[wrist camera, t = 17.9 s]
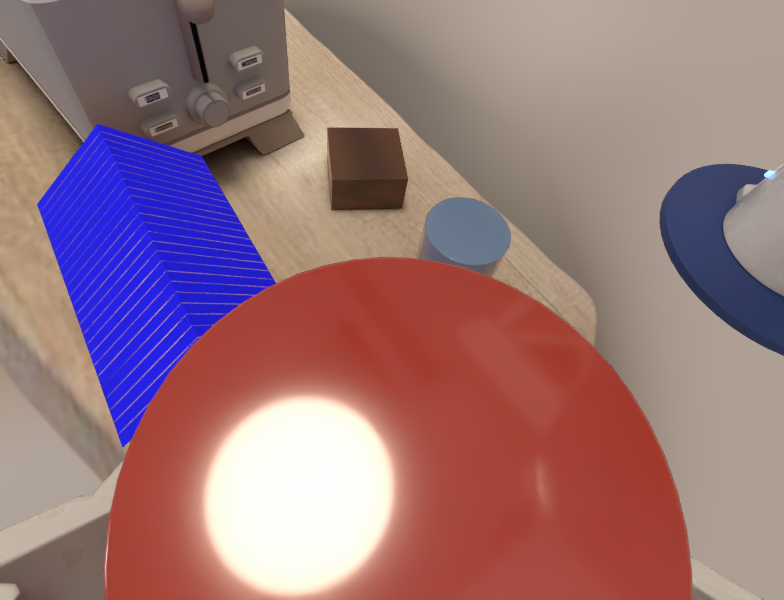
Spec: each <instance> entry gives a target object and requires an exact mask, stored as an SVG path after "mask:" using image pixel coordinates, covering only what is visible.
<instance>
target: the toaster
mask: <svg viewBox="0 0 784 600" xmlns="http://www.w3.org/2000/svg"><path fill="white" fill-rule="evenodd" d="M0 55H1V56H2V57H3V58H4V60H5V61H6V62H7V63H10V62H13V61H18V62H19V63H20V65H21V66H22V67H23V68H24V69H25V71H26V72H27V73H28V74H29V76H30V77H31V78H32V79H33V80H34V82H35V83H36V84H37V85H38V87H39V88H40V89H41V90H42V92H43V93H44V94H45V95H46V96H47V98H48V99H49V100H50V101H51V103H52V104H53V105H54V106H55V108H56V109H57V110H58V111H59V112H60V114H61V115H62V116H63V117H64V119H65V120H66V121H67V122H68V123H69V125H70V126H71V127H72V128H73V130H74V131H75V132H76V133H77V135H78V136H79V137H80V138H81V139H82V141H83V142H84V141H85V140H86V139H87V137H88V136H89V135H90V133H91V132H92V131H93V129H94V128H95V127H96V125H97V124H100V125H103V126H106V127H109V128H113V129H116V130H119V131H122V132H126V133H129V134H132V135H135V136H139V137H142V138H145V139H148V140H152V141H155V142H158V143H161V144H165V145H168V146H171V147H174V148H178V149H181V150H184V151H187V152H191V153H194V154H197V155H200V156H203V155H205V154H208V153H210V152H212V151H215V150H217V149H219V148H221V147H224V146H226V145H228V144H230V143H233V142H235V141H237V140H240V139H242V138H244V137H245V138H246V139H247V140H248V141H249V142H250V143H251V144H252V145H253V146H254V147H255V148H256V149H257V150H258V151H259V152H260V153H261V154H262V155H265V154H268V153H270V152H272V151H274V150H276V149H278V148H280V147H282V146H285V145H287V144H289V143H291V142H293V141H295V140H297V139H299V138H302V137H304V134H303V133H302V131H301V129H300V128H299V126H298V124H297V122H296V121H295V119H294V117H293V116H292V112H291V111H290V110H289V109H288V108H289V107H290V101H291V99H290V90H289V88H290V85H289V71H288V57H287V43H286V29H285V15H284V1H283V0H0Z"/></svg>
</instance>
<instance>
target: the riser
mask: <svg viewBox="0 0 784 600" xmlns="http://www.w3.org/2000/svg"><path fill="white" fill-rule="evenodd" d="M327 162H328V174H329V186H330V198H331V209H390V208H402V206H403V201H404V196H405V192H406V187H407V182H408V176H407V171H406V166H405V162H404V157H403V152H402V147H401V142H400V137H399V132H398V129H397V128H327Z"/></svg>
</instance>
